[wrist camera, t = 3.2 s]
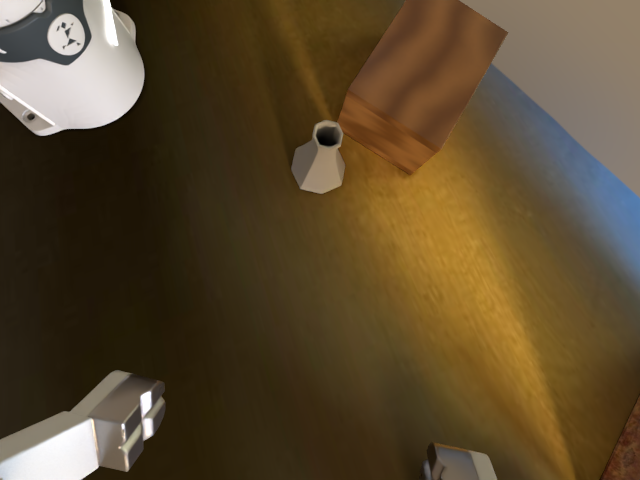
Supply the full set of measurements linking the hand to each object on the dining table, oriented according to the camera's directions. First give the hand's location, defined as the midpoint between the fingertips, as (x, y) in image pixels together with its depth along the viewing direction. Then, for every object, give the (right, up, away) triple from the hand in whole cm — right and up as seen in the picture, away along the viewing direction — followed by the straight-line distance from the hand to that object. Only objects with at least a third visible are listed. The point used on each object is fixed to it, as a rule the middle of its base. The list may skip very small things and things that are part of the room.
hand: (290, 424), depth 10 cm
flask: (+1, +15, +33) cm, 37 cm away
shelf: (+12, +25, +35) cm, 45 cm away
